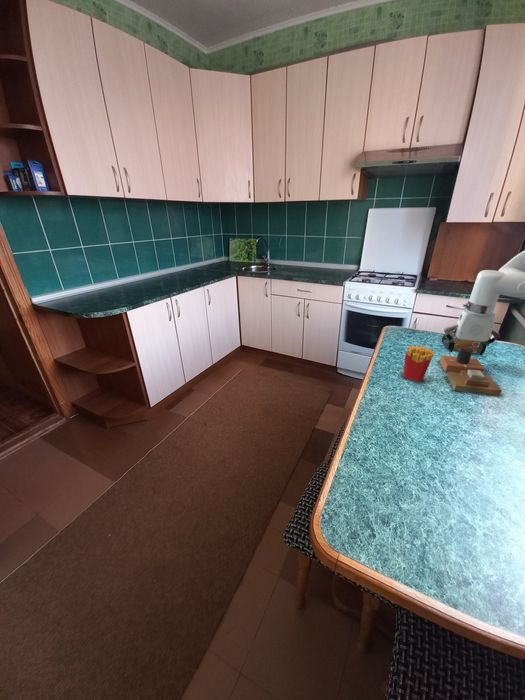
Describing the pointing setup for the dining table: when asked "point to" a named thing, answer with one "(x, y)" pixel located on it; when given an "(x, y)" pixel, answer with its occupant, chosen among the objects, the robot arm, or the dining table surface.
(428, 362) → the french fries
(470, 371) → the key
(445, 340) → the tin
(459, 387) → the stepped nested square plaque
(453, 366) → the volume box
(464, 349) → the volume knob
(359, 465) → the dining table surface
